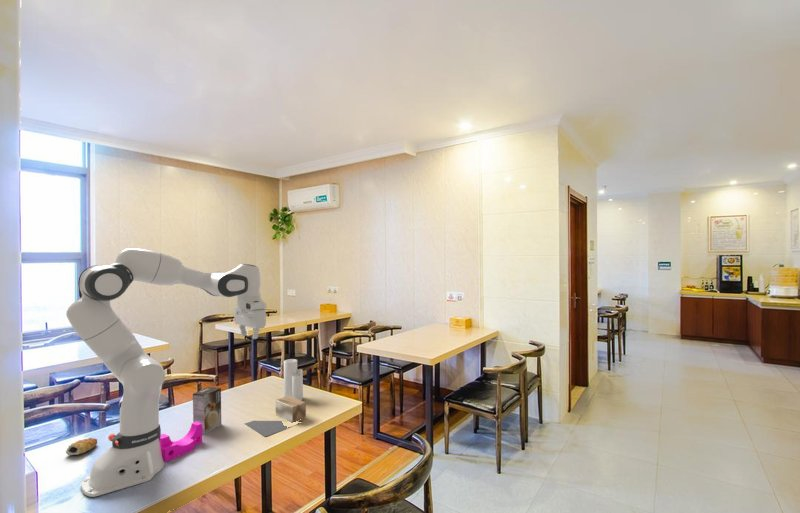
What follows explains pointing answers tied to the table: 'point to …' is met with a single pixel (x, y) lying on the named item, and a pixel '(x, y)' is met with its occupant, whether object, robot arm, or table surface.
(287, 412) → the wooden brick
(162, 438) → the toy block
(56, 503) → the table surface
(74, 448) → the pastry
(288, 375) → the three-tube pen holder
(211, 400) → the coffee box
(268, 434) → the mat
